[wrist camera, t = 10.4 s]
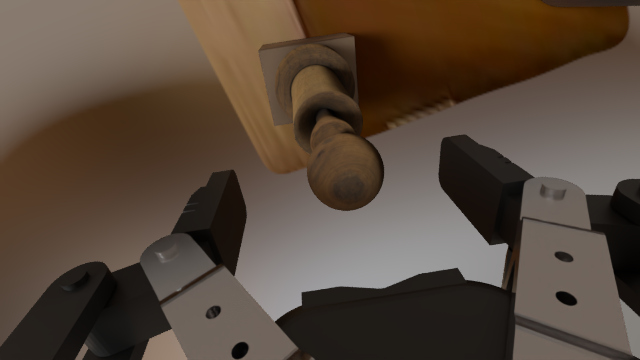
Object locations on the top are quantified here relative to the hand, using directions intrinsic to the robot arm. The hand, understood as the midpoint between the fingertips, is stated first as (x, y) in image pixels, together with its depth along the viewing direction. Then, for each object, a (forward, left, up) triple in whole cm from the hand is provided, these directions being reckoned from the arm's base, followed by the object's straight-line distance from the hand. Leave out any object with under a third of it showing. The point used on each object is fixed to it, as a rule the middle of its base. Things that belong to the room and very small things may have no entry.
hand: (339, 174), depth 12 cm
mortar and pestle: (0, 0, -17) cm, 17 cm away
